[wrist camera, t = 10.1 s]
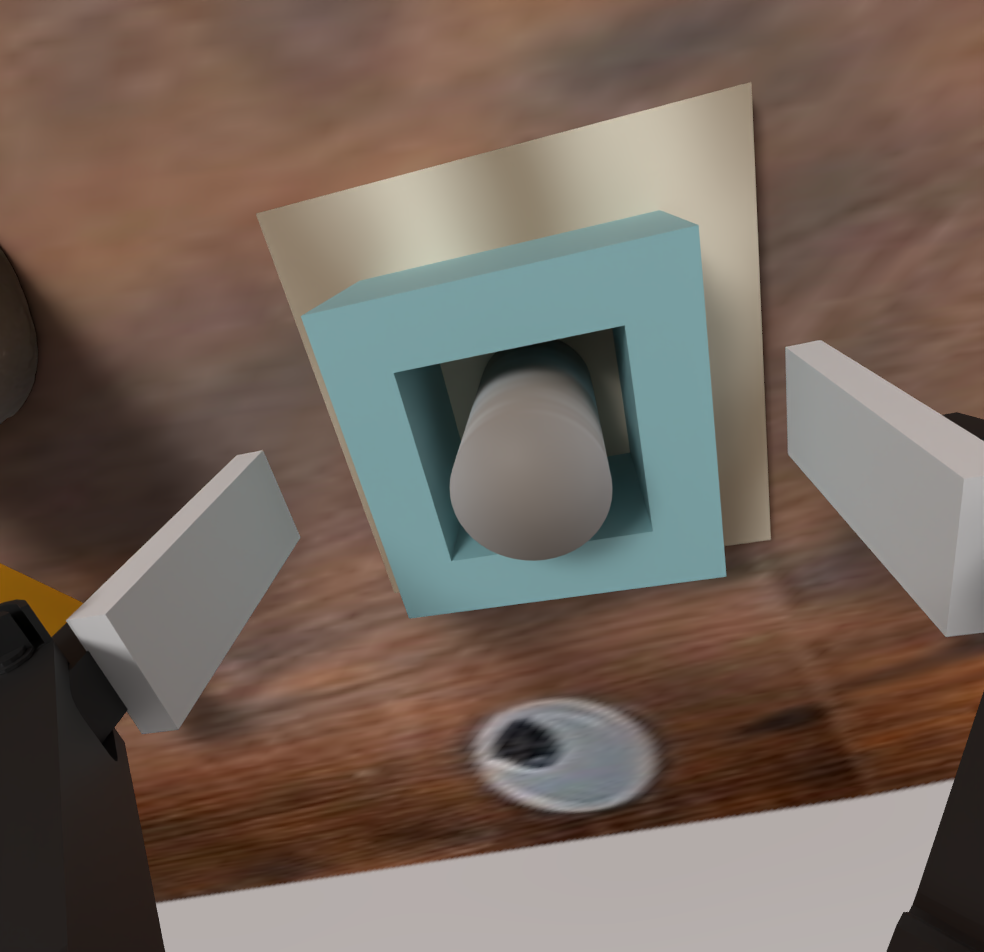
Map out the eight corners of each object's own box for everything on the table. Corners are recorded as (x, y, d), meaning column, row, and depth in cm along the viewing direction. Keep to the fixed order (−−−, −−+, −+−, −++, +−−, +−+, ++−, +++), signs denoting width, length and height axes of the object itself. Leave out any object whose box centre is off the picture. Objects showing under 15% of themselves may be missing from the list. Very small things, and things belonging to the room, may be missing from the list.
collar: (436, 529, 23) (409, 618, 18) (359, 280, 19) (300, 316, 14) (688, 489, 21) (726, 576, 17) (659, 210, 17) (698, 225, 13)
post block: (400, 577, 25) (340, 742, 18) (269, 211, 19) (103, 238, 12) (761, 524, 23) (861, 690, 15) (740, 86, 17) (884, 26, 10)
